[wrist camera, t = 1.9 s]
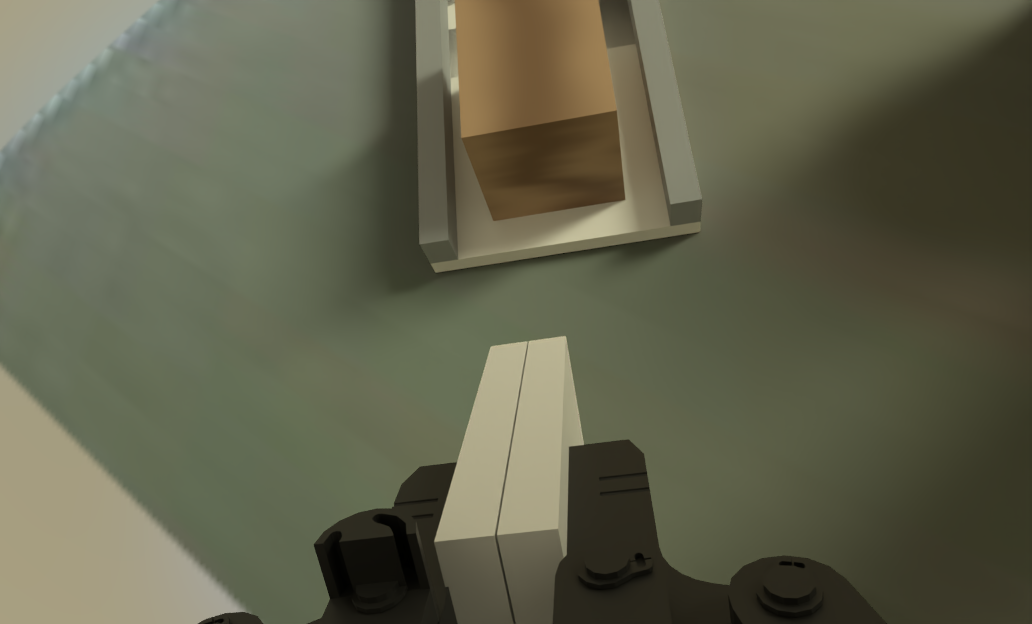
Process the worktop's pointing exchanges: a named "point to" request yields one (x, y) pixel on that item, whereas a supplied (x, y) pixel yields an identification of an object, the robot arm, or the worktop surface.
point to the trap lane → (641, 216)
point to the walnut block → (538, 105)
